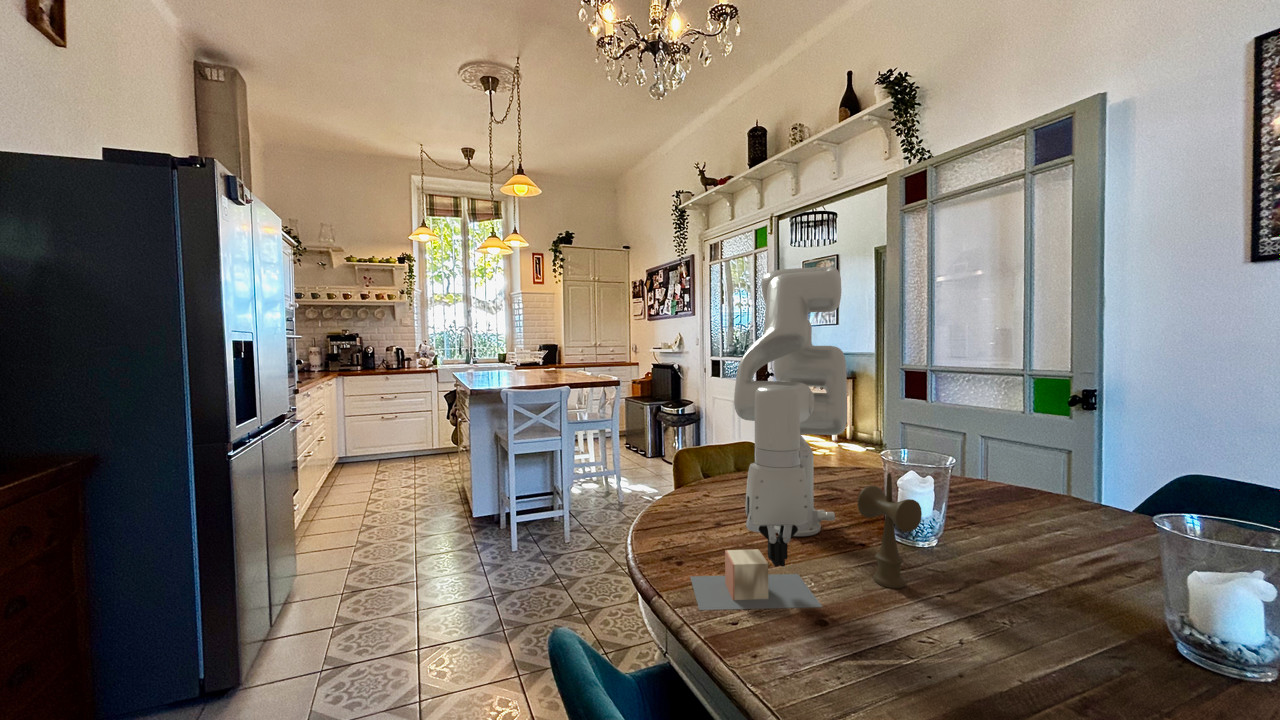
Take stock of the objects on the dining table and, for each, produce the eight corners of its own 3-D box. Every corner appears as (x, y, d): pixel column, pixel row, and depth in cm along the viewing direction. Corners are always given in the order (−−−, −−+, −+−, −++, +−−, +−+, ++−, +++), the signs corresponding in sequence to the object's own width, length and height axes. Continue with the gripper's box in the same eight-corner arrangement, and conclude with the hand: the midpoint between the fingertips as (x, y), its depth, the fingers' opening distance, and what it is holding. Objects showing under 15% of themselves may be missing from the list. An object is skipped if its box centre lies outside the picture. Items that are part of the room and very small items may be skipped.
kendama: (880, 570, 98) (881, 465, 97) (924, 593, 89) (925, 477, 88) (855, 575, 96) (855, 468, 95) (898, 599, 86) (898, 481, 86)
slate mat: (797, 576, 96) (797, 573, 96) (822, 609, 84) (822, 606, 84) (690, 578, 95) (690, 576, 95) (699, 612, 83) (699, 609, 83)
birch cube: (758, 549, 92) (725, 550, 92) (768, 563, 86) (732, 564, 86) (758, 582, 92) (725, 583, 92) (768, 598, 86) (732, 600, 86)
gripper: (812, 452, 93) (812, 553, 93) (729, 453, 92) (730, 555, 93) (828, 461, 85) (828, 571, 86) (738, 463, 85) (739, 574, 85)
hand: (777, 563), depth 89 cm, fingers closed
